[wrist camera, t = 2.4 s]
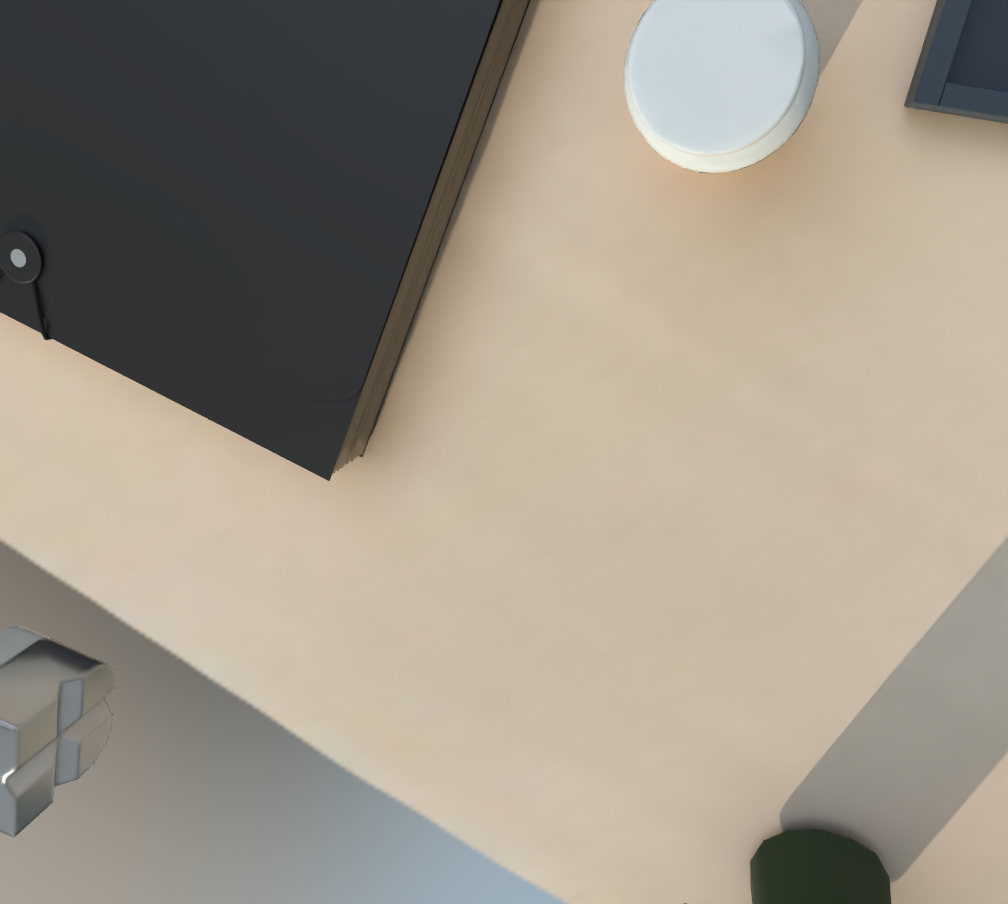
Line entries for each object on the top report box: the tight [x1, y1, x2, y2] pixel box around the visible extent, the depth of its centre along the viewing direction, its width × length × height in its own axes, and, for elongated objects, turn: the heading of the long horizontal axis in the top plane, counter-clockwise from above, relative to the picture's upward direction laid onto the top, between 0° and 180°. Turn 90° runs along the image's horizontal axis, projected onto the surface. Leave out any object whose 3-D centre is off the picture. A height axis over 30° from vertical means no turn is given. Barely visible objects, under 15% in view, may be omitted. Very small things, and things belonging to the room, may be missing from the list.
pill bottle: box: [624, 0, 820, 173], centre depth 27 cm, size 6×6×10 cm
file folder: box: [0, 0, 530, 481], centre depth 36 cm, size 33×4×24 cm
